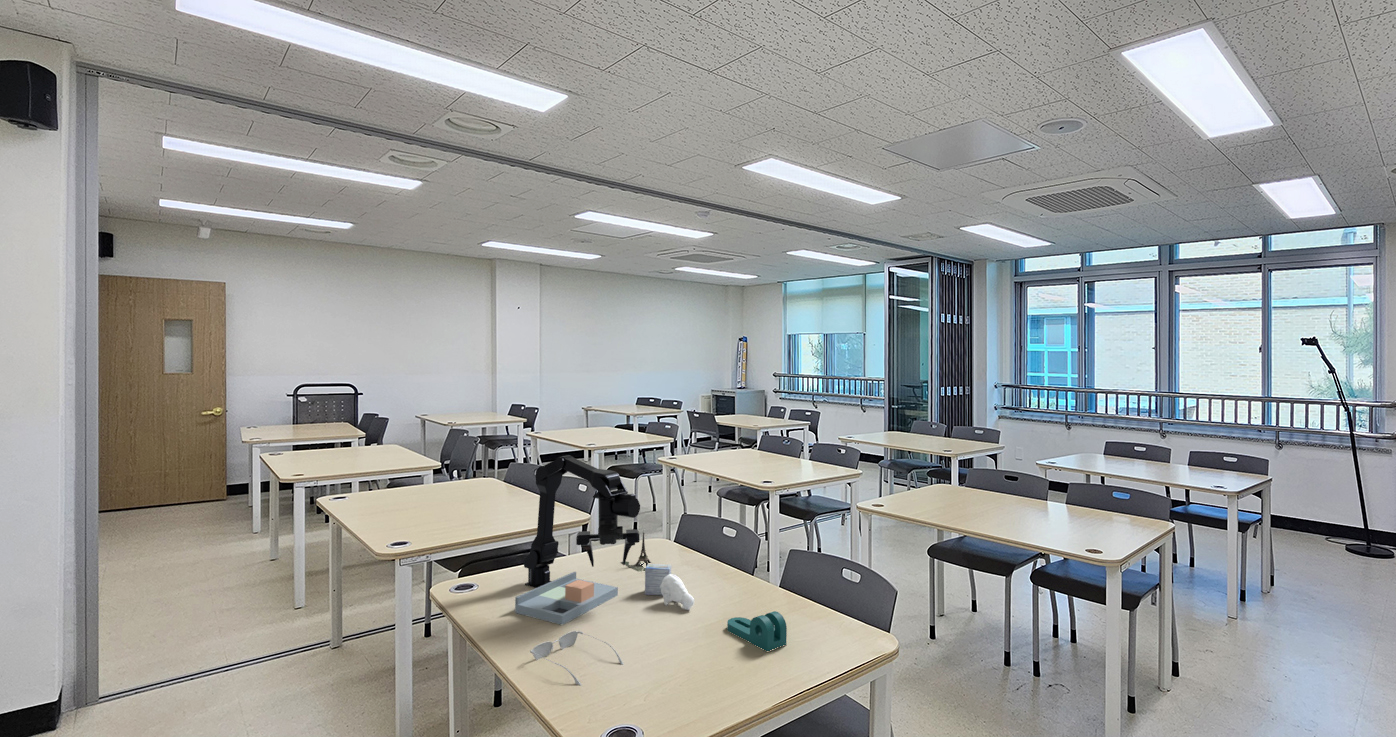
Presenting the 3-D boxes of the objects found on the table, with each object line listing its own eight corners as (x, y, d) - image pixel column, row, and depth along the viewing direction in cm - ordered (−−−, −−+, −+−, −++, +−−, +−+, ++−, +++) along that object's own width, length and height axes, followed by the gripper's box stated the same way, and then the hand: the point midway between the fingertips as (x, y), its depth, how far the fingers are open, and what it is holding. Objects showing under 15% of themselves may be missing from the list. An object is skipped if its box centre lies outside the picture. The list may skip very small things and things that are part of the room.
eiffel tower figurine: (618, 563, 231) (619, 527, 231) (641, 558, 237) (642, 523, 237) (641, 574, 219) (642, 536, 219) (665, 569, 226) (665, 531, 226)
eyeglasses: (578, 643, 164) (578, 628, 164) (627, 665, 152) (627, 648, 152) (528, 664, 152) (529, 647, 152) (577, 689, 140) (577, 671, 140)
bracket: (786, 646, 163) (786, 616, 163) (767, 653, 159) (767, 622, 159) (740, 623, 178) (741, 595, 178) (722, 629, 174) (722, 600, 174)
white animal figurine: (674, 570, 196) (701, 583, 187) (672, 596, 196) (699, 611, 188) (659, 574, 191) (685, 588, 183) (656, 601, 192) (683, 616, 183)
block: (565, 598, 187) (565, 585, 187) (577, 592, 192) (578, 579, 192) (581, 602, 184) (581, 589, 184) (593, 596, 189) (593, 583, 189)
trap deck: (515, 612, 182) (515, 597, 182) (573, 585, 206) (573, 571, 206) (562, 624, 174) (562, 608, 174) (617, 595, 198) (617, 580, 198)
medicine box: (671, 591, 202) (671, 564, 202) (669, 596, 197) (669, 568, 197) (647, 590, 203) (647, 563, 203) (644, 595, 198) (644, 567, 198)
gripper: (575, 521, 181) (575, 575, 180) (640, 518, 183) (640, 572, 183) (577, 512, 192) (577, 564, 191) (638, 510, 194) (638, 561, 194)
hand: (608, 565), depth 190 cm, fingers open, 9 cm apart
